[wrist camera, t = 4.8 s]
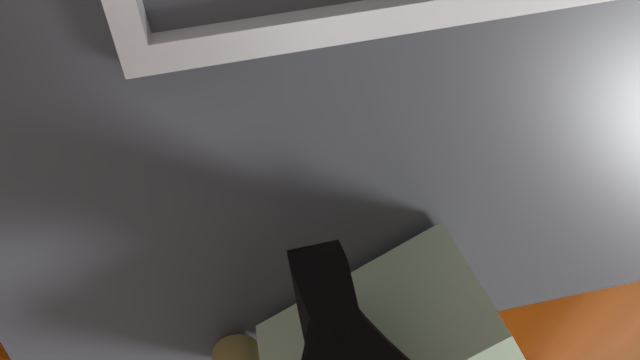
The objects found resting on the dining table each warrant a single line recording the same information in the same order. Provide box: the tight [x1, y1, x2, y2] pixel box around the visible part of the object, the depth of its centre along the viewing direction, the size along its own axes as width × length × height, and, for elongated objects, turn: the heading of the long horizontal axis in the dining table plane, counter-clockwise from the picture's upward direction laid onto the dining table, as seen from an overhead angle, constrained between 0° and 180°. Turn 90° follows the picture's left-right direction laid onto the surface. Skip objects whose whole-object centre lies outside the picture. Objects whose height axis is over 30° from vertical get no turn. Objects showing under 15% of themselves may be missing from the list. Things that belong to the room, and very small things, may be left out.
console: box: [0, 0, 640, 360], centre depth 13 cm, size 16×22×2 cm
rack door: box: [212, 222, 526, 360], centre depth 14 cm, size 8×1×4 cm, turn 120°
